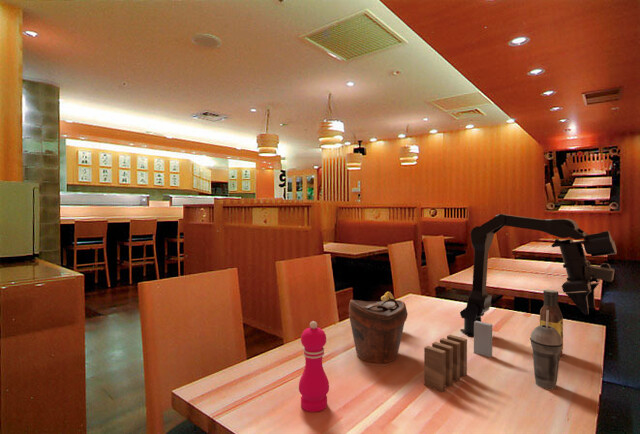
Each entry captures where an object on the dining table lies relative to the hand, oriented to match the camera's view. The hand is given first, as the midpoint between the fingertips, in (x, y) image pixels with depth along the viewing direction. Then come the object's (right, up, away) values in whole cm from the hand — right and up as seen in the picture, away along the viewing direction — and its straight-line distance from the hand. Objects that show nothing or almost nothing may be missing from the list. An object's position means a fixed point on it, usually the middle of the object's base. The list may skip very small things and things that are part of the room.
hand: (589, 311), depth 106 cm
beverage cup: (-21, -16, -13) cm, 29 cm away
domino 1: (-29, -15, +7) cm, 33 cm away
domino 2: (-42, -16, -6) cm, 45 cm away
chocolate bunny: (-54, -15, +29) cm, 63 cm away
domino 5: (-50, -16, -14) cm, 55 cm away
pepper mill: (-82, -17, -22) cm, 86 cm away
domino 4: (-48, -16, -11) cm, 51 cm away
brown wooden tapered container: (-62, -16, +7) cm, 64 cm away
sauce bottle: (-7, -15, +7) cm, 18 cm away
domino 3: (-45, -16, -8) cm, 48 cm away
